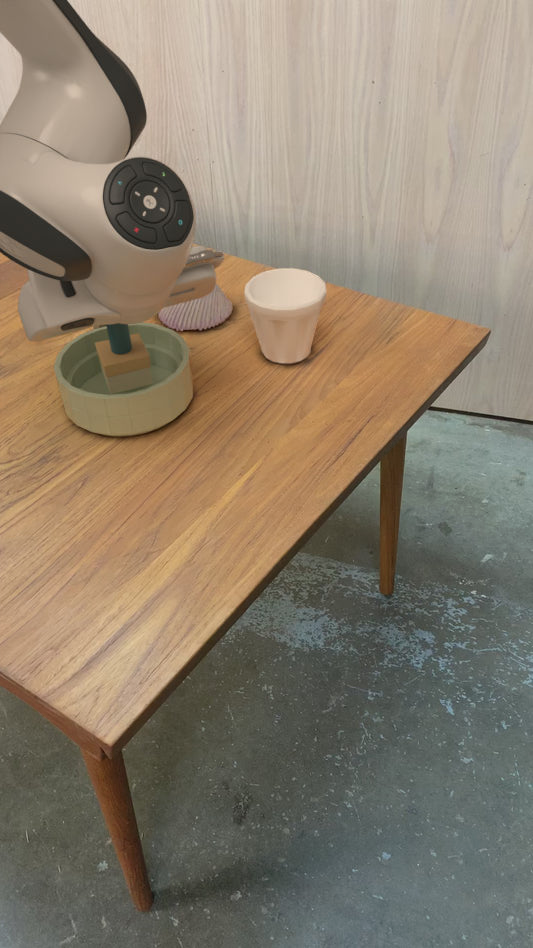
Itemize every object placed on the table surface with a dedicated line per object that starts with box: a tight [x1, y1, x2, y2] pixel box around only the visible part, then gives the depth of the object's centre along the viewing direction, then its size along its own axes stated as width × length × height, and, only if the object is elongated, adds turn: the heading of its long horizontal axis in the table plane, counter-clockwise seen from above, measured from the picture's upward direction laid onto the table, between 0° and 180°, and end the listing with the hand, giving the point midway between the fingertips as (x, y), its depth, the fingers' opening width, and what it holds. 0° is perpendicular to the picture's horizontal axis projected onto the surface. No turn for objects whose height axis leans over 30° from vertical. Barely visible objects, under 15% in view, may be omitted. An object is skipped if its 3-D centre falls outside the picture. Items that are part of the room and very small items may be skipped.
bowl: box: [53, 322, 194, 437], centre depth 92 cm, size 15×15×6 cm
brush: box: [95, 323, 153, 394], centre depth 87 cm, size 5×5×14 cm
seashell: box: [157, 283, 233, 332], centre depth 107 cm, size 10×6×10 cm
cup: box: [243, 267, 327, 366], centre depth 97 cm, size 10×10×9 cm
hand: (114, 316), depth 87 cm, fingers closed on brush, 2 cm apart
